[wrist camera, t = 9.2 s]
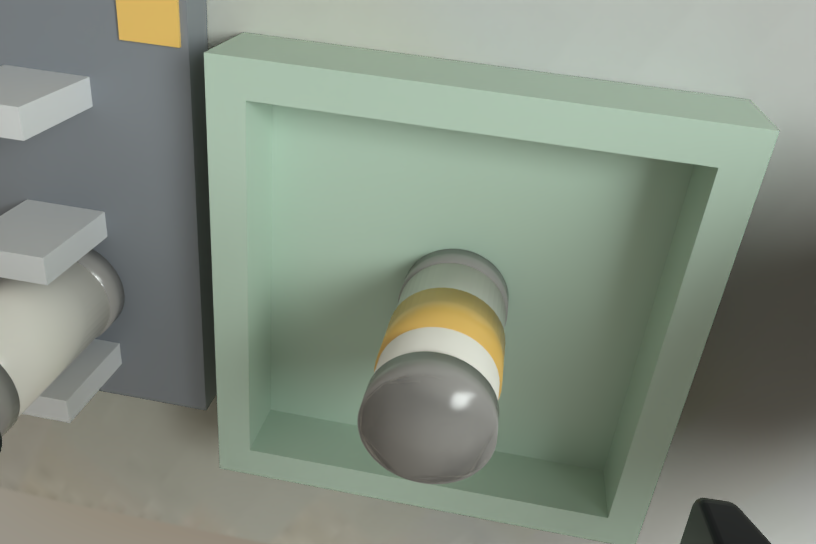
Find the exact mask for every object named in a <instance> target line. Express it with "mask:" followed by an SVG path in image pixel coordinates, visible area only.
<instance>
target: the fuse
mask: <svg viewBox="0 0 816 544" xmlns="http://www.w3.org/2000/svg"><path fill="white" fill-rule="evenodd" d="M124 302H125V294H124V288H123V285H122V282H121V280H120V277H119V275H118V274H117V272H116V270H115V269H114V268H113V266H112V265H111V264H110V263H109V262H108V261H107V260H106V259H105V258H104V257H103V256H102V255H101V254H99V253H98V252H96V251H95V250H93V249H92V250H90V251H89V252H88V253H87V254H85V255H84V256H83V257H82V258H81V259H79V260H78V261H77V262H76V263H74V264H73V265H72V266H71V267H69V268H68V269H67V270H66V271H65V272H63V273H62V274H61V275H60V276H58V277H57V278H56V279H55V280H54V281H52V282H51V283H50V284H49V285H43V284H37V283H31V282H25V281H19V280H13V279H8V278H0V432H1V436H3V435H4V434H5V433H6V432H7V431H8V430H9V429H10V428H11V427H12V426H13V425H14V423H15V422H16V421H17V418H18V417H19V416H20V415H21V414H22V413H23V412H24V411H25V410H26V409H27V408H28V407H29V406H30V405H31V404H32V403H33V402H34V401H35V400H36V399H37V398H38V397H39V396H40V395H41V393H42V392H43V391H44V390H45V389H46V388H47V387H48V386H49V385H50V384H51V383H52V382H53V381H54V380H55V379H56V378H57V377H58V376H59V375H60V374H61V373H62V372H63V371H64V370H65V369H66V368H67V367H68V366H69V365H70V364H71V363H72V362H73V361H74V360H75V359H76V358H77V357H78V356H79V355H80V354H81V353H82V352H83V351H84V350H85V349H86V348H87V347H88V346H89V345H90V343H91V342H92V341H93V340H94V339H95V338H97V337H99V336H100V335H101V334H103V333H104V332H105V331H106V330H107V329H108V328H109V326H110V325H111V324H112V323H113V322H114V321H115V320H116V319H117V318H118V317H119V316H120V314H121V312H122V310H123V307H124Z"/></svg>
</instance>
